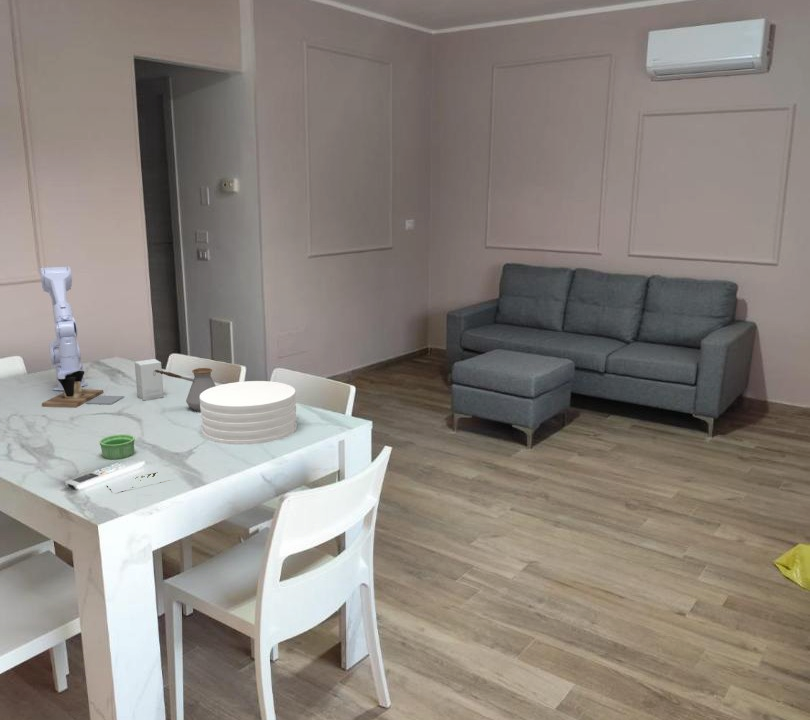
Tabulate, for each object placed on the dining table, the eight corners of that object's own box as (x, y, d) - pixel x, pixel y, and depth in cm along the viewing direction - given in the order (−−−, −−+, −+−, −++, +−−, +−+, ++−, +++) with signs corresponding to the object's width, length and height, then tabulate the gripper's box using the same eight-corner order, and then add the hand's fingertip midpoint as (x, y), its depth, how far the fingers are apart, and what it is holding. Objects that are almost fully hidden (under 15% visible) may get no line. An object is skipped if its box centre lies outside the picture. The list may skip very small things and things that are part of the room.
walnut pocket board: (71, 392, 264) (71, 388, 264) (103, 393, 263) (103, 389, 263) (42, 406, 247) (41, 403, 247) (76, 407, 245) (75, 404, 245)
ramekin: (135, 458, 199) (133, 443, 198) (99, 462, 196) (97, 446, 195) (136, 447, 207) (135, 432, 206) (102, 451, 205) (101, 435, 204)
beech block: (71, 397, 257) (69, 381, 256) (82, 398, 257) (80, 381, 255) (65, 401, 253) (63, 384, 252) (76, 401, 253) (74, 384, 251)
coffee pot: (216, 401, 252) (213, 358, 249) (227, 409, 243) (224, 364, 240) (152, 411, 241) (148, 366, 238) (161, 420, 232) (157, 373, 228)
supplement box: (164, 397, 257) (161, 362, 254) (142, 401, 253) (139, 365, 250) (158, 392, 263) (155, 358, 260) (137, 396, 259) (133, 361, 256)
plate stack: (182, 438, 215) (179, 400, 213) (237, 411, 241) (235, 377, 238) (265, 449, 205) (263, 410, 203) (313, 421, 231) (312, 385, 228)
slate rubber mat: (99, 396, 258) (99, 395, 258) (124, 397, 257) (124, 396, 257) (86, 403, 250) (85, 402, 250) (111, 404, 249) (111, 403, 249)
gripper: (67, 351, 258) (71, 388, 262) (46, 360, 244) (51, 400, 247) (87, 351, 258) (91, 388, 261) (68, 360, 244) (72, 400, 247)
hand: (73, 394), depth 254 cm, fingers closed on beech block, 4 cm apart
